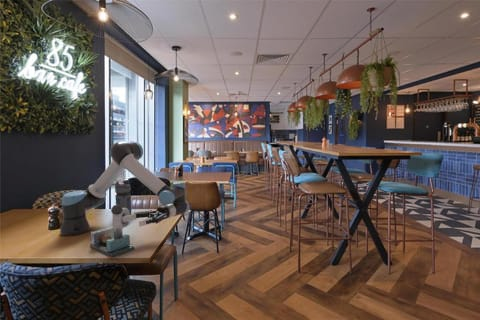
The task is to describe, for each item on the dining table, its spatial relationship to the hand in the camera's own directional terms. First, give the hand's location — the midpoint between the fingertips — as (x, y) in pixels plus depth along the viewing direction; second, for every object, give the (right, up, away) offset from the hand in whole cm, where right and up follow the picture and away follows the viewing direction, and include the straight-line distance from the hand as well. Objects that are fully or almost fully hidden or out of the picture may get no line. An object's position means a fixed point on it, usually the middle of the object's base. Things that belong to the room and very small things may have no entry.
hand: (131, 221), depth 135 cm
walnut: (-13, -11, +2) cm, 18 cm away
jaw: (-4, -12, -5) cm, 13 cm away
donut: (-22, -10, +40) cm, 47 cm away
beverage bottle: (-30, -9, +61) cm, 68 cm away
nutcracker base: (-9, -13, -1) cm, 16 cm away
